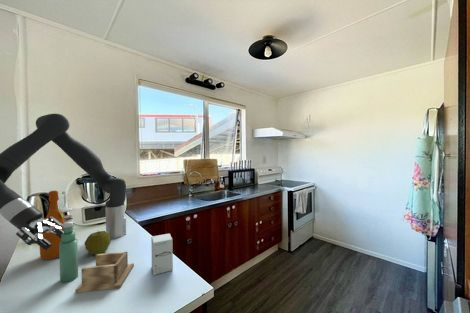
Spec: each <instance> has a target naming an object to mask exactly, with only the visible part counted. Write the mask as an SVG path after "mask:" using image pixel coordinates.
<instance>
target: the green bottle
mask: <svg viewBox="0 0 470 313" xmlns="http://www.w3.org/2000/svg"><path fill="white" fill-rule="evenodd" d="M63 228H64V233H63V234H61V242H60V243H59V253H60V257H59V283H61V284H66V283H70V282H72V281H74V280H76V279H77V278H78V277H79V263H78V262H79V258H78V255H79V254H78V253H79V252H78V251H79V250H78V238H76V230H75V231H73V230H74V220H73V221H69V222H65V223H63Z"/></svg>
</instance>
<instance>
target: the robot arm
mask: <svg viewBox="0 0 470 313" xmlns="http://www.w3.org/2000/svg"><path fill="white" fill-rule="evenodd" d="M70 126H71V125H70V121H69V119H68V117H66V116H65V115H63V114H60V113H48V114H44V115H42V116H41V115H40V116H38V117H37V118H36V121H35V127H36V129H35V130H34V131H32V132H31V133H29V134H28V135H26V136H25V137H24V138H22V139H20V140H18V141H17V142H15V143H14V144H12V145H9V147H7V148H6V149H5V150H3V151H2V152H1V153H0V216H2V218H4V219H5V220H6V221H8V222H9V223H10V224H11V225H13V227H14V228H16V229H18V231H17V232H16V233H15V236H17V237H18V238H20V239H21V240H22V241H23V242H24V243H25V244H27V245H28V246H31V245H37V246H39V248H40V247H42V248H43V249H45V250H47V249H49V248H50V247H51V246H52V244H51V243H50V242H48V241H47V240H46V239H44V238H43V237H42V233H45V232H47V233H49V232H51V233H55V234H56V235H57V236H58V237H59V238H61V234H63V233H64V231H63V230H62V229H61V228H62V227H63V224H61V223H60V222H59V221H57V220H56V219H55V218H53V217H49V218H48V219H46V218H44V217H43V216H44V213H43V212H42V211H41V210H40V209H38V208H37V207H35V205H33V204H32V203H31V202H30V201H28V200H27V199H24V198H23V197H22V196H21V195H20V194H18V193H17V192H16V191H15V190H13V189H11V188H10V187H8V185H6V182H7V181H8V179H9V178H10V177H12V175H13V173H14V172H15V171H16V170H17V169H19V167H21V166H22V165H23V164H25V162H26V161H28V160H29V159H30V158H31V157H32V156H33V155H35V154H36V153H37V152H38V151H39V150H41V149H42V148H43V147H44V146H46V145H47V144H49V143H50V142H51V141H52V142H53V143H54V144H55V145H56V146H58V148H60V149H61V150H62V151H63V153H65V155H67V156H68V157H69V158H70V159H71V160H72V161H73V162H74V163H75V164H76V165H77V166H78V167H80V168H81V169H82V170H83V171H84V172H85V173H86V174H87V175H88V176H89V177H91V178H92V179H93V180H94V181H95V182H96V183H97V185H98V186H99V187H100V188H101V189H102V190H103V191H104V192H105V193H106V194H109V199H108V200H106V201H105V231H106V232H107V233H108V234H109V236H110V239H118V238H120V237H123V236H124V235H126V234H127V217H125V201H126V198H127V197H126V194H127V185H126V181H125V180H124V179H123V178H120V177H114V176H112V175H111V174H110V173H109V172H107V170H106V169H105V167H104V166H103V163H102V161H101V159H100V157H99V156H98V155H97V154H96V153H95V152H94V150H92V148H90V147H88V146H87V145H85V144H84V143H82V142H81V141H78V140H77V139H75V138H74V137H73V136H71V134H69V133H68V130H69V129H70ZM52 222H53V223H52ZM56 224H57V225H58V226H56ZM50 226H51V227H50ZM53 229H55V230H53ZM42 238H43V239H42Z"/></svg>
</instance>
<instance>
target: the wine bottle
mask: <svg viewBox="0 0 470 313" xmlns="http://www.w3.org/2000/svg"><path fill="white" fill-rule="evenodd" d="M59 198H60V197H59V191H58V190H50V191H49V192H48V201H49V206H48V207H49V208H48V212H47V215H46V216H45V219H48V218H49V217H53V218H55V219H56V220H57V221H59V222H60V223H61V224H63V223H65V221H66V220H64V217H65V216H66V215H65V216H64V212H62V211H61V212H59V210H60V209H61V208H59V204H58V201H59V200H60V199H59ZM52 223H53V222H52ZM56 226H58V225H57V224H56ZM50 227H51V226H50ZM61 229H62V230H63V231H64V228H63V227H62V228H61ZM53 230H55V229H53ZM42 237H43V238H44V239H46V240H47V241H48V242H50V243H51V244H52V246H51V247H50V248H49V249H47V250H45V249H43V248H42V247H40V246H39V255H40V256H39V257H40V259H42V260H53V259H57V258H60V253H59V243H60V242H61V238H59V237H58V236H57V235H56V234H55V233H51V232H49V233H47V232H45V233H42ZM43 238H42V239H43Z"/></svg>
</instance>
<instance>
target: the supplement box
mask: <svg viewBox="0 0 470 313" xmlns="http://www.w3.org/2000/svg"><path fill="white" fill-rule="evenodd" d="M173 244H174V243H173V237H172V236H171V233H165V234H159V235H153V236H151V269H152V275H153V276H156V275H160V274H162V273H167V272H171V270H172V271H173V270H174V267H173V266H174V265H173V264H174V262H173V261H174V260H173V254H174V253H173V252H174V251H173V248H174V247H173Z"/></svg>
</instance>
